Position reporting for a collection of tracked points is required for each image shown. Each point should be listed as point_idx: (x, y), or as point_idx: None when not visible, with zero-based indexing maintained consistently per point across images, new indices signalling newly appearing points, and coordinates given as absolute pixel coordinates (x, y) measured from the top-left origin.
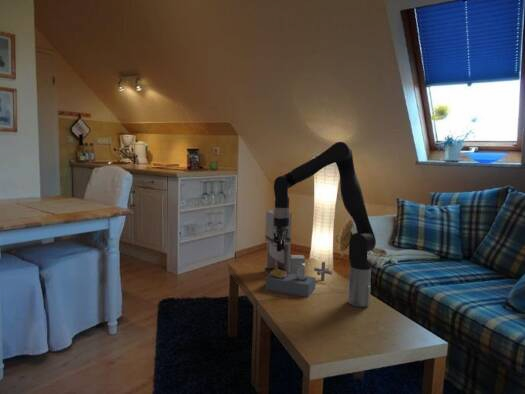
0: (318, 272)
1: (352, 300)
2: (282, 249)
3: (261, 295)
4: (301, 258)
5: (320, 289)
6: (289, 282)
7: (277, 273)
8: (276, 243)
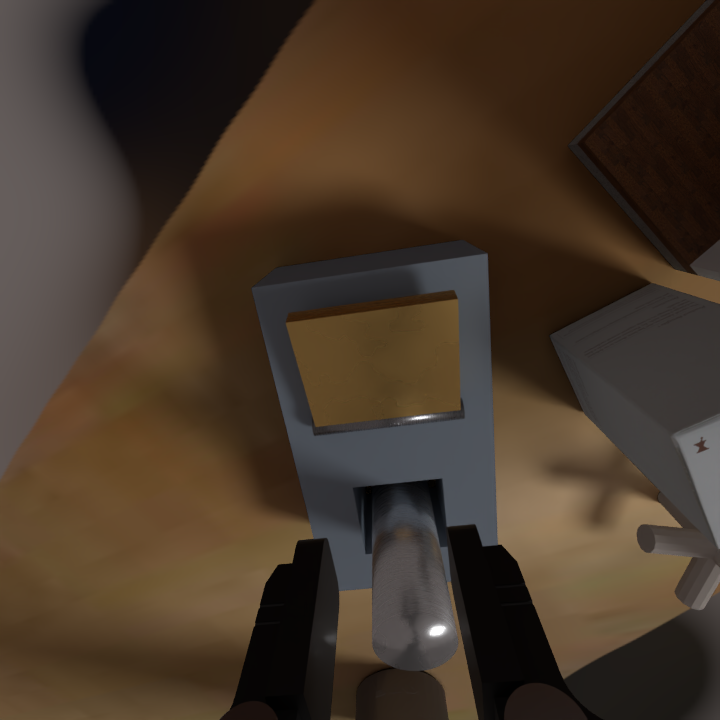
0: (650, 544)
1: (357, 712)
2: (451, 574)
3: (163, 305)
4: (710, 524)
5: None
6: (301, 478)
7: (336, 375)
8: (223, 717)
